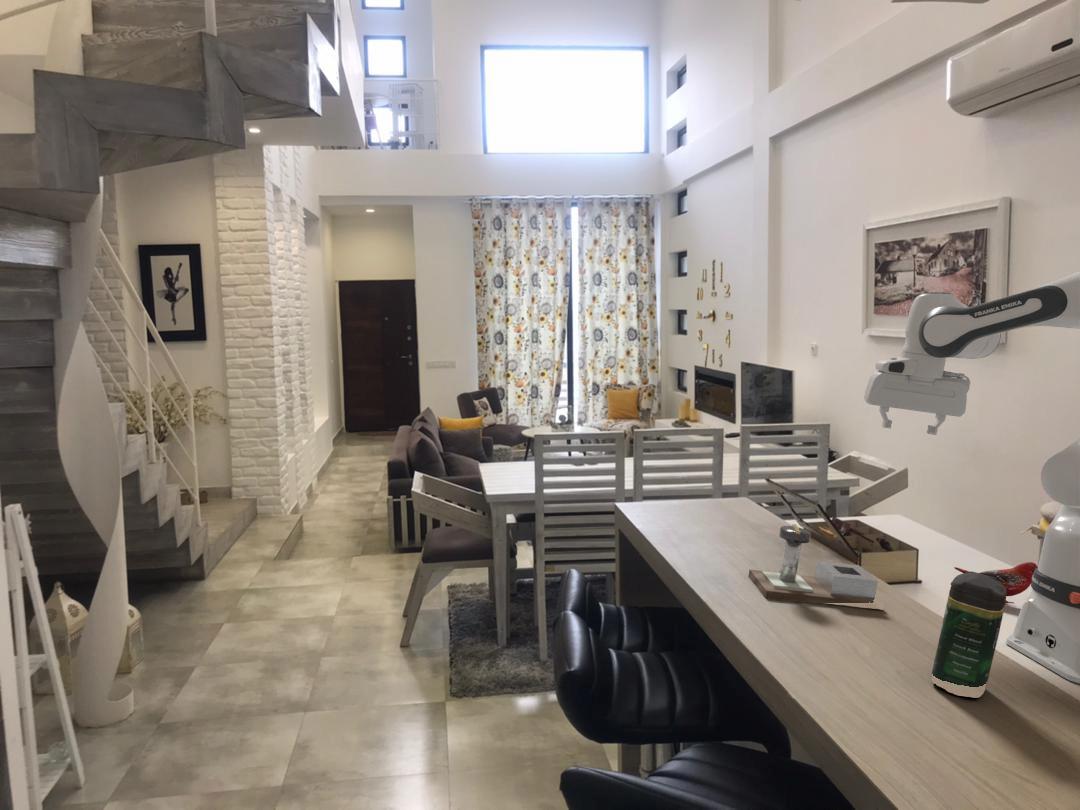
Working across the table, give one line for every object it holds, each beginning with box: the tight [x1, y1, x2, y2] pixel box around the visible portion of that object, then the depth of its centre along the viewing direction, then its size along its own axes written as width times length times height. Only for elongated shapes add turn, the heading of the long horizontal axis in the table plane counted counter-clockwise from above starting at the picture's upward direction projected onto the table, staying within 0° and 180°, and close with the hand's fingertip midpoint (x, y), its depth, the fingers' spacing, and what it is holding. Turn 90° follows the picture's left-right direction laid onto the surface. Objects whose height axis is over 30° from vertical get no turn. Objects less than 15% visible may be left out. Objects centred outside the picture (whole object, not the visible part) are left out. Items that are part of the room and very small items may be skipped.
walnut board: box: [748, 569, 874, 604], centre depth 165 cm, size 12×24×2 cm, turn 92°
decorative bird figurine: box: [953, 561, 1038, 605], centre depth 174 cm, size 3×18×10 cm, turn 81°
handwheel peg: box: [778, 523, 812, 583], centre depth 164 cm, size 6×6×11 cm
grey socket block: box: [813, 560, 879, 600], centre depth 165 cm, size 9×9×4 cm
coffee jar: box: [931, 571, 1007, 687], centre depth 128 cm, size 10×8×19 cm
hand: (908, 430), depth 174 cm, fingers open, 8 cm apart
